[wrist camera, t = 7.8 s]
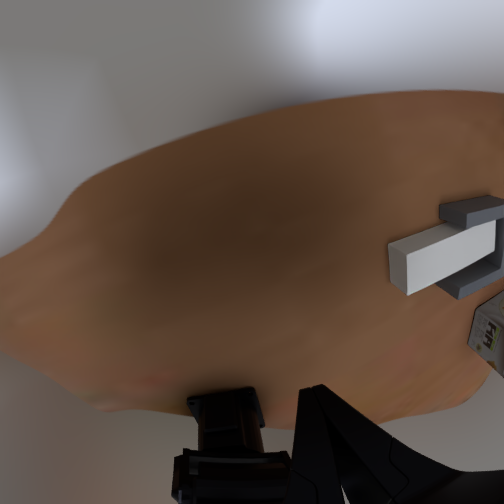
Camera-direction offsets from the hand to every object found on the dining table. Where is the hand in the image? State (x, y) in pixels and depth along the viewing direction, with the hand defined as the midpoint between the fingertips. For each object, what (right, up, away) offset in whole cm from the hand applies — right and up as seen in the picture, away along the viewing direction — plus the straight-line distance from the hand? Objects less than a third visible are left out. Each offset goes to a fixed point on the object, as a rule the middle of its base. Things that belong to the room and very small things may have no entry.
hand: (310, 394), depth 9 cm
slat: (+15, +6, +13) cm, 21 cm away
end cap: (+18, +6, +13) cm, 23 cm away
